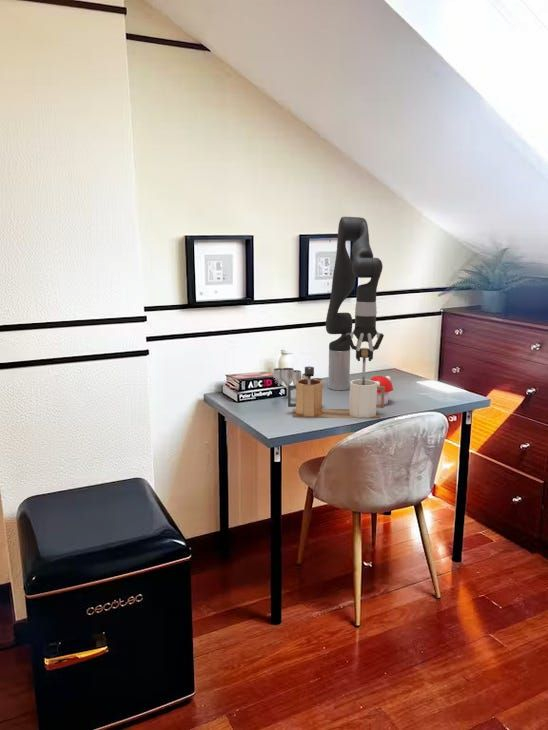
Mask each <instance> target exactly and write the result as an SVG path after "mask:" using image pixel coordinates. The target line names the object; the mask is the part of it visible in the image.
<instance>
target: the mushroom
mask: <svg viewBox="0 0 548 730" xmlns="http://www.w3.org/2000/svg"><path fill="white" fill-rule="evenodd" d="M391 379H392V378H391V376H389V375H386V376H382V375H375V376H372V377H371V378H370V379H369V380H372V381H376V383H377V386H384V387H385V394H384V405H387V404H389V403H388V402H389V398H390V396H389V395H390V394H389V393H390V392H392V391H394V388H393V387H394V386H393V383H392V381H391ZM376 404H381V390H377V402H376Z"/></svg>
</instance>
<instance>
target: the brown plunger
mask: <svg viewBox="0 0 548 730" xmlns="http://www.w3.org/2000/svg"><path fill="white" fill-rule="evenodd" d="M368 358H369V347H368V348H367V347H360V359H362V372H361V373H362V375H361V376H362V377H361V379H362V385H365V379H366V360H367V359H368Z"/></svg>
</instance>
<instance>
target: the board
mask: <svg viewBox="0 0 548 730" xmlns="http://www.w3.org/2000/svg"><path fill="white" fill-rule="evenodd" d="M292 418H296V419H298V418H302V419H303V418H304V419H306V418H307V419H309V418H311V419H318V418H319V419H320V418H321V419H360V418H359V417H355V416H351V415H350V414H349V409H347V408H345V409H344V408H322V415H319V416H316V417H302V416H299V415H296V408H292ZM369 419H381V416H380V413H379V412H378V409H376V416H373V417H370V418H369Z"/></svg>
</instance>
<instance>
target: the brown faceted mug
mask: <svg viewBox="0 0 548 730" xmlns="http://www.w3.org/2000/svg"><path fill="white" fill-rule="evenodd" d="M322 381H323V380H322ZM322 381H321V380H317V379H312V378H311V383H310V385H308V379H302V378H301V380H296V385H294V384H290V385H288V398H287V407H288V408H295V409H296V415H299V416H302V417H316V416H319V415H322V409H323V390H322ZM292 389H294V390H295V403H292V402H291V401H292V400H291V395H292V394H291V393H292V392H291V391H292Z"/></svg>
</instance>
